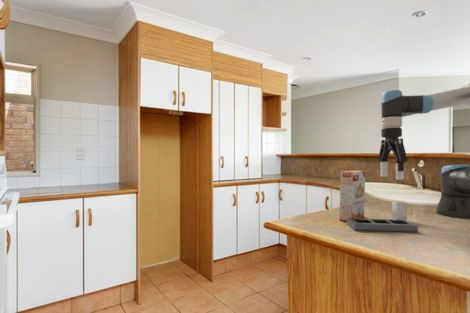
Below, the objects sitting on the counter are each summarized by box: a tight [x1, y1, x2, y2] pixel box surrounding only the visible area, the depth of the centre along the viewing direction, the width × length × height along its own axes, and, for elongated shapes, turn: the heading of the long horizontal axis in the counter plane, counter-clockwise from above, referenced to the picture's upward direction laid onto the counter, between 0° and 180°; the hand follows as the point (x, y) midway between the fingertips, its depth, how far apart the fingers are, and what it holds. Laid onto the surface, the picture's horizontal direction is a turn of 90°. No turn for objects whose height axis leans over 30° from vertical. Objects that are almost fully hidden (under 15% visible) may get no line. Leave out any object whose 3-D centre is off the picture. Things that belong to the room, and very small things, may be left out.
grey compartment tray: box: [346, 217, 419, 233], centre depth 103 cm, size 22×9×2 cm, turn 85°
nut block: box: [391, 200, 408, 221], centre depth 114 cm, size 4×4×8 cm
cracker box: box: [338, 170, 366, 222], centre depth 118 cm, size 14×6×21 cm, turn 136°
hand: (391, 177), depth 115 cm, fingers open, 13 cm apart
